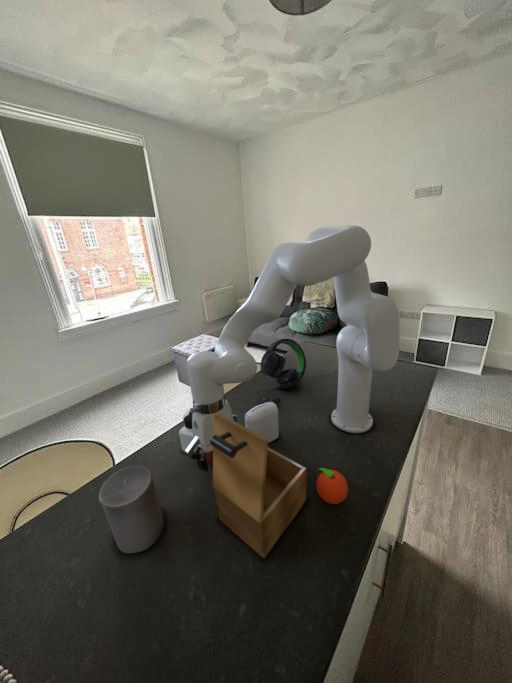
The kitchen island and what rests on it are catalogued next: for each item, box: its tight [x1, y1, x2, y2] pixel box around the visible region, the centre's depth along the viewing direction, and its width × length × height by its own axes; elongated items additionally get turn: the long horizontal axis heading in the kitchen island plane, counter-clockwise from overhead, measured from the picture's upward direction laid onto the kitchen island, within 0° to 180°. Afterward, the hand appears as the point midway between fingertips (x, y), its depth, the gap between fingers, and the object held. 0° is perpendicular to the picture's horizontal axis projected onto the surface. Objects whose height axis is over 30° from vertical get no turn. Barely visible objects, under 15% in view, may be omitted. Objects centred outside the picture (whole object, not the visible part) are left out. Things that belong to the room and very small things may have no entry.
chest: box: [213, 446, 307, 559], centre depth 61 cm, size 16×13×10 cm
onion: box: [206, 450, 213, 470], centre depth 73 cm, size 6×6×8 cm
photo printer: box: [244, 402, 280, 444], centre depth 80 cm, size 10×4×12 cm, turn 123°
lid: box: [210, 413, 269, 523], centre depth 50 cm, size 16×13×5 cm
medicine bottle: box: [178, 409, 202, 453], centre depth 80 cm, size 7×7×12 cm
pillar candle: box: [98, 464, 165, 554], centre depth 57 cm, size 10×10×15 cm
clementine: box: [315, 467, 349, 505], centre depth 63 cm, size 8×7×7 cm
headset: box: [256, 338, 307, 407], centre depth 105 cm, size 18×14×29 cm
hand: (217, 457), depth 73 cm, fingers open, 9 cm apart
